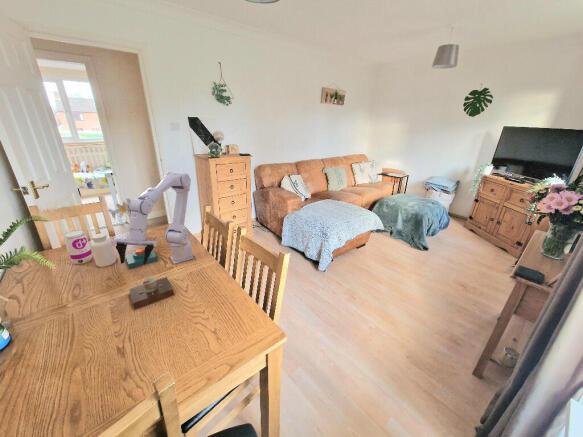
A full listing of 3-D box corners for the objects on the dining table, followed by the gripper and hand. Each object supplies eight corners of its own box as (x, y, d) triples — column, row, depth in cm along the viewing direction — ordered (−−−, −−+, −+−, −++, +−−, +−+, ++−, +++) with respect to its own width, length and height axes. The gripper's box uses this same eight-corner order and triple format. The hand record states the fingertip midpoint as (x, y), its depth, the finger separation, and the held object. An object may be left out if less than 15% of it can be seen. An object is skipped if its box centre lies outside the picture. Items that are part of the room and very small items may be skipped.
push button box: (153, 252, 127) (151, 245, 126) (157, 261, 120) (155, 253, 118) (126, 259, 120) (124, 251, 119) (129, 269, 113) (127, 260, 111)
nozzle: (143, 250, 121) (143, 247, 120) (145, 253, 118) (144, 250, 118) (135, 252, 119) (134, 249, 118) (136, 255, 116) (135, 252, 116)
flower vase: (113, 243, 134) (101, 201, 124) (147, 232, 148) (138, 194, 139) (124, 251, 127) (113, 207, 118) (158, 238, 142) (150, 198, 132)
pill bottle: (120, 259, 120) (113, 232, 115) (107, 268, 113) (99, 240, 107) (105, 257, 121) (97, 231, 115) (92, 266, 114) (82, 238, 108)
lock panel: (167, 282, 105) (166, 276, 104) (174, 294, 98) (172, 288, 97) (130, 295, 97) (128, 288, 96) (134, 309, 90) (132, 303, 89)
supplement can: (96, 259, 119) (88, 232, 114) (76, 266, 113) (65, 238, 107) (89, 254, 123) (80, 228, 118) (69, 261, 117) (59, 234, 111)
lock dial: (155, 284, 99) (154, 275, 98) (158, 289, 96) (156, 281, 95) (143, 288, 97) (141, 279, 95) (145, 294, 94) (143, 285, 92)
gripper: (112, 228, 88) (108, 264, 88) (156, 231, 92) (152, 266, 93) (118, 226, 94) (115, 260, 94) (159, 230, 99) (156, 262, 99)
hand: (133, 263), depth 94 cm, fingers open, 7 cm apart
